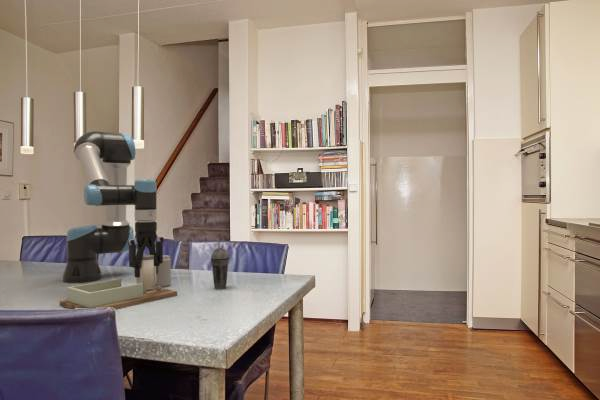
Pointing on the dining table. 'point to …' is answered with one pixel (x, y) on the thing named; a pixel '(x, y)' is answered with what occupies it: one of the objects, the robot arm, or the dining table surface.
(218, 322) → the dining table surface
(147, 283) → the beige rounded cylinder
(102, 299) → the pale green open frame
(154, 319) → the dining table surface
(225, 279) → the beverage cup
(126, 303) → the board
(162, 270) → the beverage can
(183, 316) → the dining table surface
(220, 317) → the dining table surface
